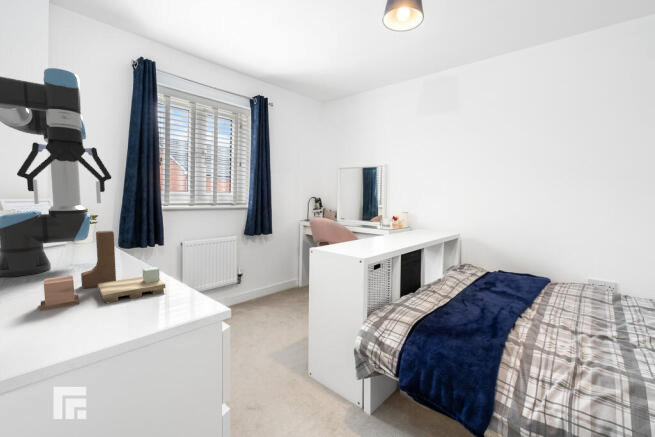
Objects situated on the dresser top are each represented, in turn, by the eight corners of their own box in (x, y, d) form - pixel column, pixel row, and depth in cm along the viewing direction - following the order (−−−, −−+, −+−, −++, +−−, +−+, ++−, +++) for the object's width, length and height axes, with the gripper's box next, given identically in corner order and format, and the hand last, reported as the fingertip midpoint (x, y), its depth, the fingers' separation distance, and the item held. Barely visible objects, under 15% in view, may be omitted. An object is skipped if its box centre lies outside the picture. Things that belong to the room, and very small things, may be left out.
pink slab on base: (41, 305, 84) (39, 279, 84) (78, 298, 89) (76, 274, 89) (40, 311, 80) (38, 284, 79) (79, 304, 85) (78, 279, 84)
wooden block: (82, 289, 98) (79, 233, 96) (81, 285, 101) (78, 232, 99) (116, 283, 104) (113, 231, 102) (114, 280, 107) (111, 230, 105)
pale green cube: (142, 280, 99) (142, 268, 99) (156, 278, 102) (156, 266, 102) (145, 283, 96) (145, 270, 96) (159, 280, 99) (159, 268, 99)
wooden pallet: (98, 291, 96) (97, 283, 96) (154, 281, 106) (154, 274, 106) (103, 303, 85) (102, 294, 85) (165, 291, 96) (165, 284, 96)
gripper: (-2, 118, 74) (4, 204, 76) (120, 132, 91) (123, 203, 93) (2, 123, 80) (8, 203, 82) (116, 135, 96) (119, 202, 98)
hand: (69, 203), depth 87 cm, fingers open, 13 cm apart
